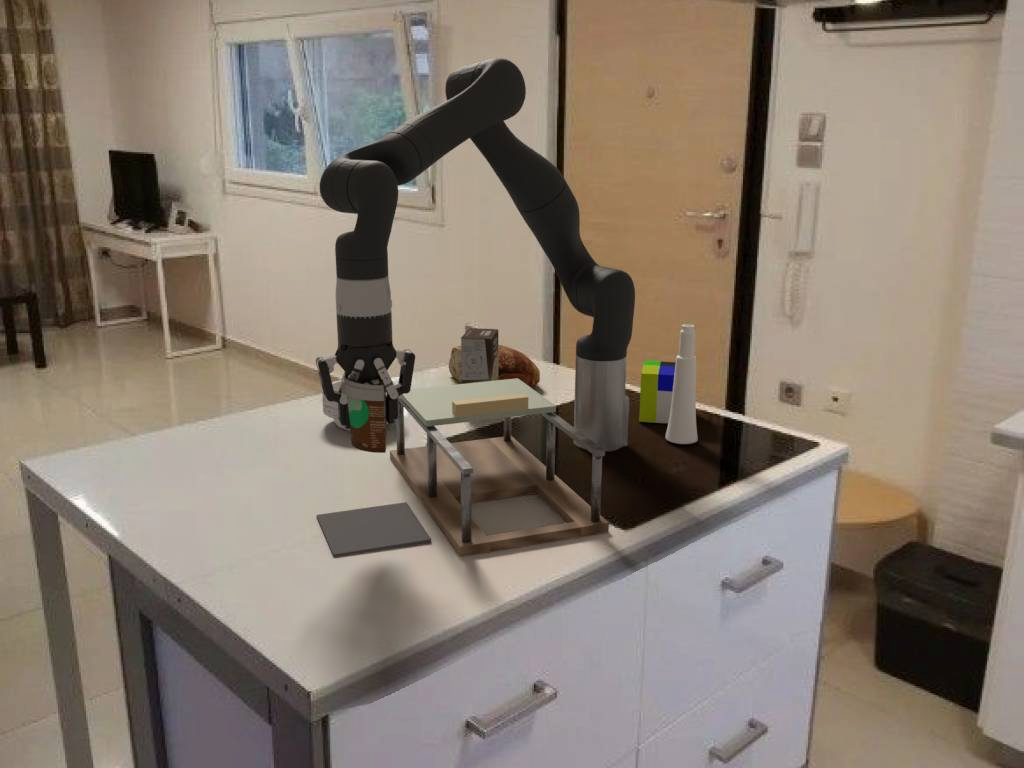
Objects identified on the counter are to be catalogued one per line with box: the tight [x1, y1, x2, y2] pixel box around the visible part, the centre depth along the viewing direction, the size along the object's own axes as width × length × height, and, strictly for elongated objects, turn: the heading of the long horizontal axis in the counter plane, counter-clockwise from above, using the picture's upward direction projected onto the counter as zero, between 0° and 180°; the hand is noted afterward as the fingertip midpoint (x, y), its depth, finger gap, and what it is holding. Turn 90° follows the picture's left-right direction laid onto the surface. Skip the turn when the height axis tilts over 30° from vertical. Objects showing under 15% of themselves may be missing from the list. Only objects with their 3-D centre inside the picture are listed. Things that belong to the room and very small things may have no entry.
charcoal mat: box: [316, 501, 432, 558], centre depth 139 cm, size 14×14×1 cm
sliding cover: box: [399, 378, 557, 427], centre depth 155 cm, size 22×17×3 cm
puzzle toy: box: [638, 360, 676, 425], centre depth 190 cm, size 10×10×10 cm
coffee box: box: [460, 328, 499, 384], centre depth 193 cm, size 9×6×16 cm
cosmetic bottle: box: [664, 323, 699, 445], centre depth 175 cm, size 6×6×22 cm
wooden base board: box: [389, 435, 610, 558], centre depth 153 cm, size 23×40×2 cm, turn 21°
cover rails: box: [395, 397, 606, 543], centre depth 151 cm, size 21×39×11 cm, turn 21°
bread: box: [448, 344, 541, 388], centre depth 211 cm, size 20×18×10 cm
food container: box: [341, 374, 388, 454], centre depth 133 cm, size 12×6×10 cm, turn 6°
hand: (368, 424), depth 134 cm, fingers closed on food container, 5 cm apart
